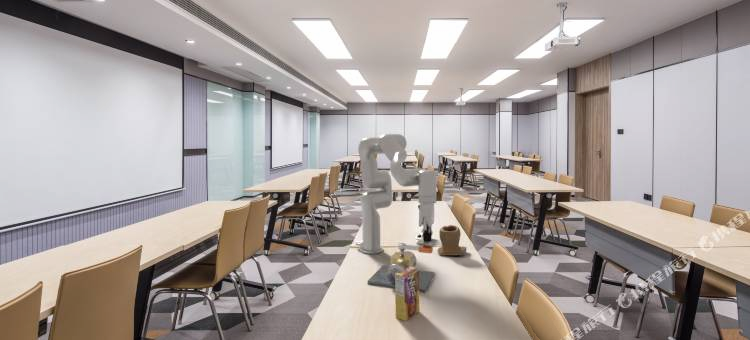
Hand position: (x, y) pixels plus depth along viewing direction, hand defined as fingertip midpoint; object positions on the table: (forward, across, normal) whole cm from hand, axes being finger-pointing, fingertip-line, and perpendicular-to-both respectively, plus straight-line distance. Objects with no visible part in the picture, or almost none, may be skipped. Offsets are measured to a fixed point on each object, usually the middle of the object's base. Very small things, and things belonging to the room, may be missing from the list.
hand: (427, 241), depth 150 cm
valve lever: (+2, +6, -4) cm, 8 cm away
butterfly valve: (+15, -51, -13) cm, 55 cm away
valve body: (+15, +6, -10) cm, 19 cm away
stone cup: (+16, -33, +6) cm, 37 cm away
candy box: (+16, +34, 0) cm, 38 cm away
